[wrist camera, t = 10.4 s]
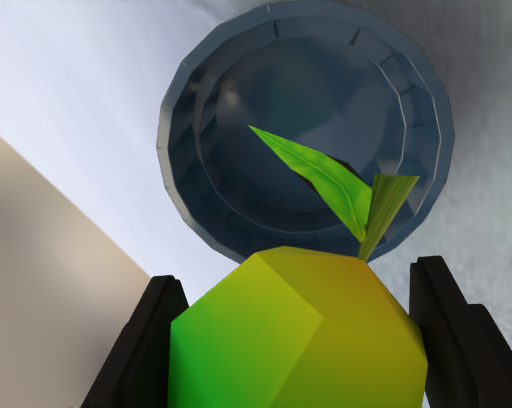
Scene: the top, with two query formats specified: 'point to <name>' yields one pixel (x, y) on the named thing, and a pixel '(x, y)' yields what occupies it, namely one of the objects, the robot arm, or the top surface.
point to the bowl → (300, 125)
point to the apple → (305, 314)
